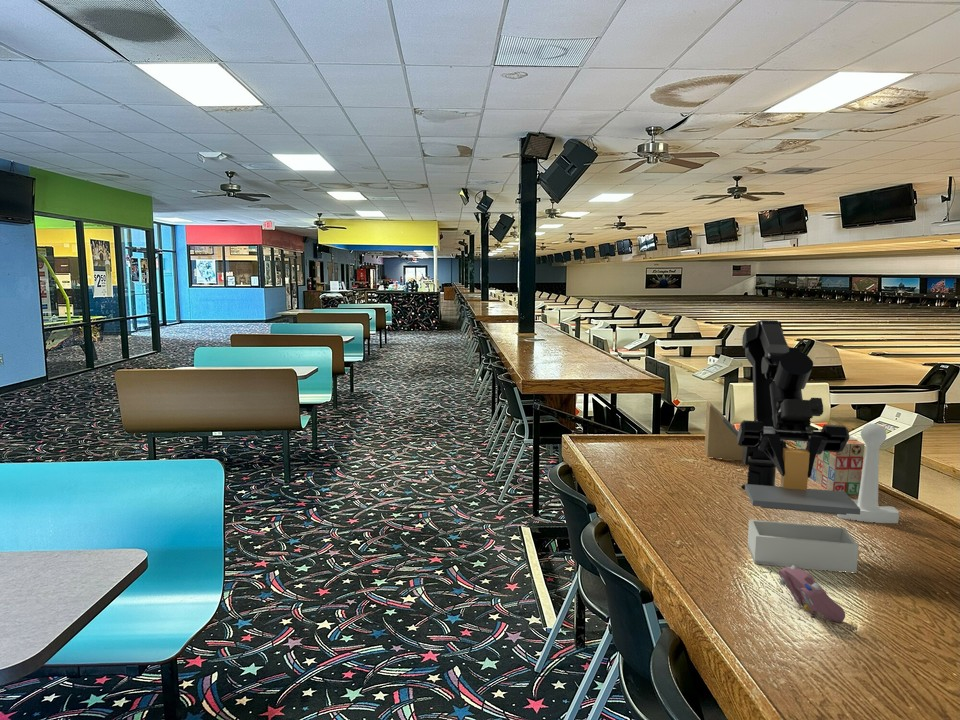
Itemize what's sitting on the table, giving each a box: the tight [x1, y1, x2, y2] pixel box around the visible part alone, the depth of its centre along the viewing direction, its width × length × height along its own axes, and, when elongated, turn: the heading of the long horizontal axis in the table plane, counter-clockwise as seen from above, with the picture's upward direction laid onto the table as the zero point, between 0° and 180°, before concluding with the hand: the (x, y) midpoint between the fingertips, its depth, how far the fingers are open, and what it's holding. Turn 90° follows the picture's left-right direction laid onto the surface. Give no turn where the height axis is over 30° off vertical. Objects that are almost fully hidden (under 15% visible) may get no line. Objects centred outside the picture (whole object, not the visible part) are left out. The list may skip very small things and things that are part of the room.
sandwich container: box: [704, 400, 750, 461], centre depth 180 cm, size 9×15×15 cm, turn 76°
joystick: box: [836, 423, 900, 524], centre depth 135 cm, size 11×8×20 cm
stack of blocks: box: [795, 429, 866, 496], centre depth 160 cm, size 21×6×12 cm, turn 177°
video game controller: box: [778, 565, 846, 623], centre depth 98 cm, size 10×5×7 cm, turn 5°
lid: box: [744, 447, 860, 515], centre depth 117 cm, size 11×17×9 cm, turn 76°
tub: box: [747, 519, 860, 574], centre depth 115 cm, size 8×16×5 cm, turn 76°
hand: (796, 475), depth 120 cm, fingers closed on lid, 4 cm apart
